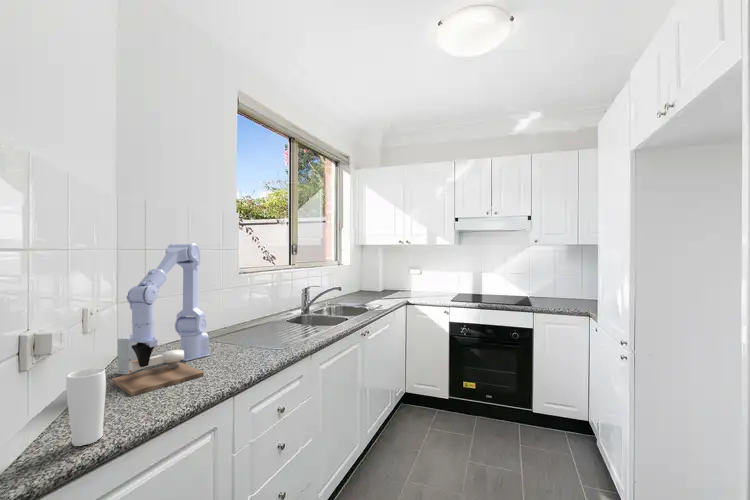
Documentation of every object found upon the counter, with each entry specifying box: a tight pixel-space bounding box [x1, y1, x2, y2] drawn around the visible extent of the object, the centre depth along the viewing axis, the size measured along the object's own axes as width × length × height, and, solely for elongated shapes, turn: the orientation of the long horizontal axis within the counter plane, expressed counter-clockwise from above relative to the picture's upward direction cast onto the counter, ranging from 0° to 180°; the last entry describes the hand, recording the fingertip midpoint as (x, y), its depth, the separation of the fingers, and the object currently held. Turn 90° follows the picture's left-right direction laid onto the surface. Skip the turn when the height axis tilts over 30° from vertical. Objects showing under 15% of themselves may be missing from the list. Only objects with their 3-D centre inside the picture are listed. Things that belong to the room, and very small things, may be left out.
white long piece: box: [129, 349, 184, 371], centre depth 122 cm, size 16×7×3 cm, turn 146°
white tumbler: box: [65, 367, 107, 447], centre depth 79 cm, size 7×7×15 cm
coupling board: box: [111, 361, 205, 397], centre depth 118 cm, size 20×18×4 cm
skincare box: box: [117, 335, 142, 375], centre depth 125 cm, size 6×4×12 cm
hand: (144, 366), depth 116 cm, fingers closed
